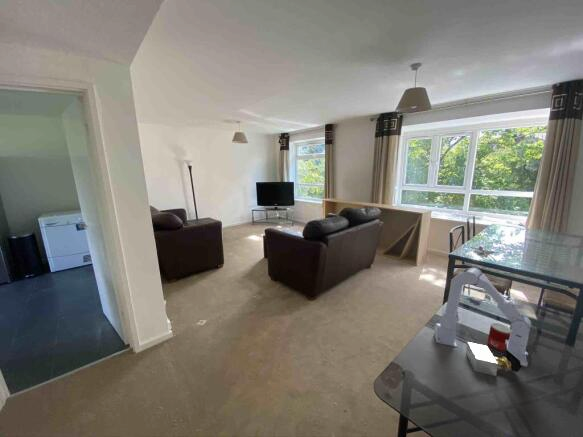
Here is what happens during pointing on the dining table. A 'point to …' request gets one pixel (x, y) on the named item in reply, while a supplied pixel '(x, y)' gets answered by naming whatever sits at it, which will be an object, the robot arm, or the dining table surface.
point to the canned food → (498, 336)
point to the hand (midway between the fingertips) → (512, 368)
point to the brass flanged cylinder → (503, 363)
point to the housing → (481, 359)
